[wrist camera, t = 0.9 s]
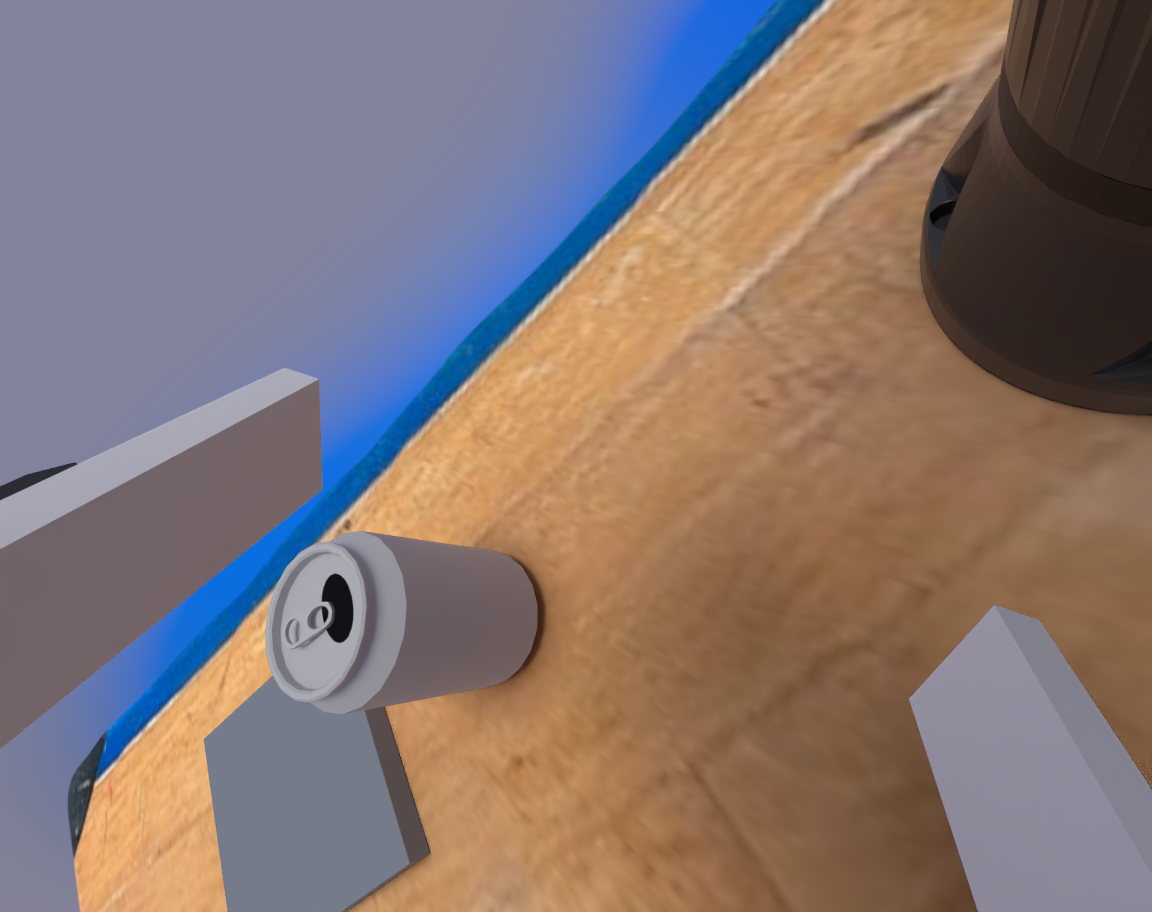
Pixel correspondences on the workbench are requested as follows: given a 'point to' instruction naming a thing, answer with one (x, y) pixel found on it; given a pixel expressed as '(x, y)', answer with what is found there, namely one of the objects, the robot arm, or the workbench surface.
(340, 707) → the can
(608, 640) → the workbench surface
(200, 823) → the workbench surface
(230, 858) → the slate board
